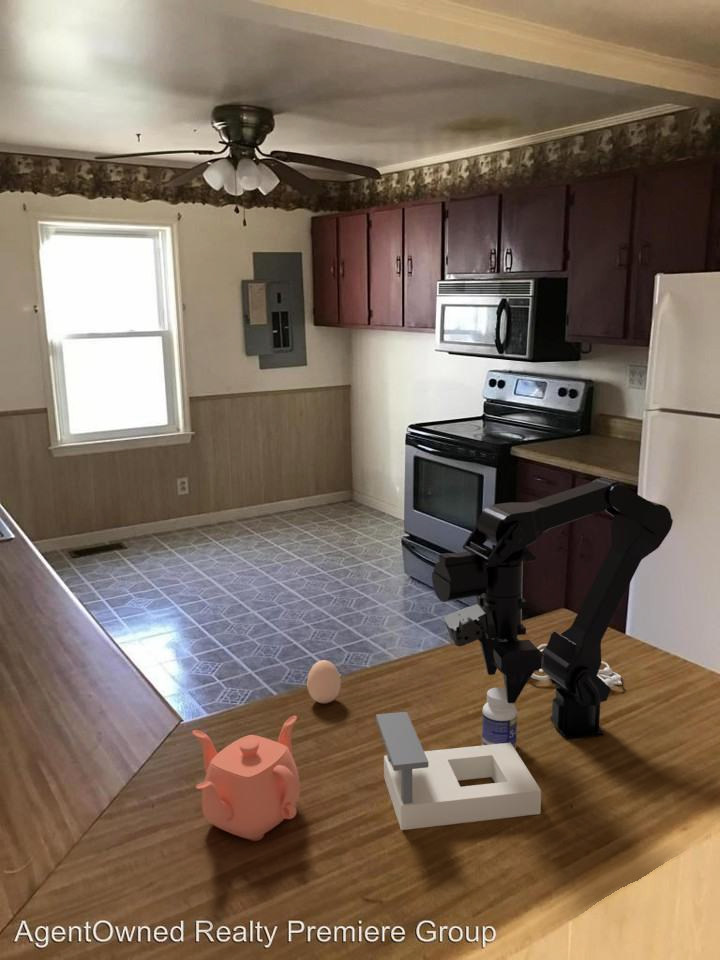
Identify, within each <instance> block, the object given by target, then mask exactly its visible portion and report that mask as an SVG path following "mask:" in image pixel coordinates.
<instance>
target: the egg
mask: <svg viewBox="0 0 720 960" xmlns="http://www.w3.org/2000/svg"><path fill="white" fill-rule="evenodd" d="M341 682H342V681H341V676H340V673H339V671H338V669H337V667H336V666H335V665H334V663H332V662H331V661H329V660H327V659H323V660H319V661H317V662H316V663H314V664H313V665H312V667H311V668H310V670H309V673H308V675H307V683H306V684H307V685H306V686H307V691H308V694H309V696H310V697H311V698H312V699H313V700H314V701H315V702H317V703H319V704H328V703H331V702H332V701H334V700H335V699H336V698H337V697H338V695H339V692H340V691H341V686H342V685H341V684H342V683H341Z"/></svg>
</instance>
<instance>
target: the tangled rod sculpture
mask: <svg viewBox="0 0 720 960" xmlns="http://www.w3.org/2000/svg"><path fill="white" fill-rule="evenodd" d="M547 644H548V643H543V644H540V645H539V646H536V647H537V648H538V649H539V650H540V651H541V652H542V651H543V650H544V649H545V648H543V647H546V646H547ZM541 648H542V649H541ZM602 664H603V665H605V667H604V668H603V669H599V671H598V674H597V676H598V677H599V678H600V679H601V680H602V681H603V682H605V683H606V684H607V685H608V686H609V687H610V689H612V688H613V687H614V685H615V686H621V685H622V684H623V682H622V680H621V678H622V676H621V675H620V674H618V673H617V672H614V671H613V670H612V668H611V667H610V665H609V664H608V663H607V662H605V661H602V660H601V665H602ZM538 672H539V673H544V670H543V668H542V669H539V670H538ZM530 678H532V679H534V680H537V681H547V680H550V678H549V676H547V675H546V674H545V675H544V676H543V675H537V674H535V673H533V674H532V675H531V677H530Z"/></svg>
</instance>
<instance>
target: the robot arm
mask: <svg viewBox="0 0 720 960" xmlns="http://www.w3.org/2000/svg"><path fill="white" fill-rule="evenodd" d="M604 511H605V512H606V513H608V514H610V515H611V516H612V517H613V518H612V521H611V524H610V528H609V529H610V547H609V550H608V552H607V553H606V555H605V557H604V559H603V561H602V564H601V566H600V567H599V569H598V572H597V574H596V576H595V578H594V580H593V581H592V584H591V586H590V588H589V590H588V591H587V595H586V596H585V598H584V600H583V602H582V604H581V606H580V608H579V610H578V612H577V614H576V615H575V618H574V620H573V622H572V624H571V626H570V627H568V628H567V629H566V630H564V631H563V632H561V633H559V632H558V631H557V630H554V631H553V632H552V633H551V634H550V638H549V641H548V643H546V644H547V646H545V648H543V649H544V650H543V651H542V652H541V651H540V650H541V649H538V648H537V647H538V646H536V644H535V643H534V642H533V641H532V640H531V639H519V638H518V636H521V635H522V636H523V635H527V627H526V626H525V625H524V624H523V623H522V619H523V618H522V617H523V616H522V612H523V610H524V609H527V605H528V604H527V601H526V599H525V598H523V575H524V573H523V569H524V568H523V567H524V566H523V565H524V563H526V562H527V563H528V562H534V561H536V560H537V558H538V557H537V555H535V554H534V553H532V551H531V550H530V549H528V546H530V545H532V544H533V543H535V542H536V541H538V540H539V538H540V537H541V536H542V534H543V533H545V532H547V531H550V530H551V529H554V528H557V527H560V526H562V525H566V524H567V523H571V522H574V521H577V520H580V519H583V518H585V517H589V516H592V515H595V514H597V513H600V512H604ZM673 522H674V520H673V518H672V514H671V511H670V510H669V508H668V507H667V506H665V505H663V504H660V503H657V502H653V501H651V500H648V499H646V498H644V497H642V496H641V495H639V494H637V493H636V492H634V491H632V490H631V489H630V488H628V487H627V486H625V485H624V484H623V483H622V482H619V481H616V480H613V479H610V478H606V477H599V478H596V479H594V480H592V481H591V482H588V483H585V484H582V485H579V486H576V487H573V488H570V489H567V490H564V491H561V492H558V493H554V494H552V495H548V496H546V497H543V498H540V499H537V500H533V501H528V502H520V501H519V502H518V501H517V502H501V503H497V504H490V505H488V506H487V507H485V508H484V509H482V511H481V514H480V515H479V518H478V521H477V523H476V525H475V526H474V528H473V529H472V531H471V533H470V534H469V536H468V537H467V539H466V541H465V542H464V543H463V545H462V549H463V550H464V551H462V552H454V553H451V552H450V553H449V552H447V553H446V552H445V553H440V554H439V556H438V562H437V563H436V564H434V568H433V572H431V578H432V579H431V581H432V582H431V583H432V587H433V591H434V592H435V595H436V597H437V598H438V600H439V601H440V602H441V603H448V602H455V601H458V600H465V599H471V598H476V604H473V605H470V606H466V607H464V608H462V609H459V610H457V611H454V612H453V613H450V614H448V615H446V616H444V618H443V621H444V624H445V626H446V629H447V631H448V634H449V637H450V639H451V640H452V641H453V643H454V645H455V646H457V647H464V646H466V645H469V644H471V643H474V642H476V641H479V645H480V649H481V653H482V656H483V657H482V658H483V660H484V664H485V669H486V672H487V673H486V674H488V676H493V675H495V674H496V673H497V670H498V671H499V673H501V674H502V676H503V682H504V688H505V691H506V697H507V702H508V703H513V704H514V703H516V702H517V700H518V698H519V697H520V695H521V693H522V691H523V690H524V688H525V686H526V685H527V683H528V681H529V680H530V678H532V677H531V675H532V674H535V672H536V671H539V669H542V670H543V673H545V676H546V675H547V676H549V678H550V679H549V681H550V683H551V684H552V685H554V686H556V687H557V688H555V697H554V698H552V708H551V709H552V710H551V711H552V712H551V715H550V721H551V722H552V723H553V725H554V726H555V728H556V729H557V730H558V731H559V732H560V733H561V735H562V737H564V738H565V739H576V738H578V739H579V738H586V737H587V738H588V737H595V736H596V737H597V736H604V735H605V734H604V733H605V731H604V729H602V727H601V726H600V719H601V717H600V716H601V715H600V714H601V703H604V702H607V700H608V698H609V696H610V695H609V694H610V692H611V690H612V688H610V687H609V686H608V685H607V684H606V683H605V682H603V681H602V680H601V679H600V678H599V677H598V676H597V674H598V671H599V670H601V669H600V668H601V666H602V663H601V661H602V647H601V646H602V645H601V644H602V640H603V638H604V636H605V634H606V632H607V630H608V628H609V626H610V625H611V622H612V620H613V618H614V615H615V614H616V612H617V610H618V608H619V606H620V604H621V602H622V600H623V598H624V596H625V594H626V592H627V590H628V587H629V585H630V584H631V581H632V579H633V577H634V575H635V574H636V573H637V569H638V567H639V566H640V564H641V561H643V560H644V559H645V558H646V557H647V556H649V555H650V554H652V553H653V552H655V551H656V550H658V549H659V548H660V546H661V545H662V544H663V542H664V540H665V539H666V537H667V536H668V535H669V533H670V532H671V529H672V526H673ZM486 542H487V543H489V544H491V545H493V546H494V548H491V547H489V546H488V545H485V543H486ZM522 609H523V610H522Z"/></svg>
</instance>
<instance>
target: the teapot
mask: <svg viewBox="0 0 720 960" xmlns="http://www.w3.org/2000/svg"><path fill="white" fill-rule="evenodd" d="M297 719H298V717H297V715H292V716H290V717H289V718H288V719H287V720H285V721H284V723H283V725H282V727H281V731H280V732H279V736H278V738H277V739H278V740H277V741H275V740H273V739H269V738H267V737H263V736H260V735H257V734H256V735H255V734H249V735H246V736H243V737H240V738H238V739H236V740H235V741H234V742H231V743H230V744H228V745H227V746H226V747H224V748H223V749H222V750H220V751H219V752H217V750H216V747H215V746H214V744H213V742H212V740H211V737H209V736H208V735H207V734H206V733H205V732H203V731H201V730H198V729H195V730H192V735H194V737H195V738H196V739H197V740H198V742H199V744H200V747H201V749H202V757H203V765H204V766H203V767H204V772H205V774H206V775H205V779H204V781H203V782H202V781H201V782H199V783H198V784H197V785H196V786H195V789H198V790H202V797H201V810H202V814H203V815H204V817H205V818H206V820H207V822H209V823H210V825H213V826H215V827H216V828H218V829H220V830H223V831H225V832H227V833H229V834H232V835H233V836H238V837H240V838H244V839H247V840H250V841H251V842H256V841H257V842H258V841H260V840H262V839H263V838H264V837H265V834H266V833H268V832H269V831H271V830H273V829H274V828H276V827H277V826H278V825H280V824H281V822H283V821H284V820H285V819H286V820H291V819H293V818H295V817H296V815H297V808H296V805H297V802H298V800H299V798H300V795H301V783H300V776H299V772H298V768H297V765H296V761H295V760H294V757H293V746H292V745H293V744H292V731H293V728H294V725H295V723H296V721H297Z"/></svg>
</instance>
